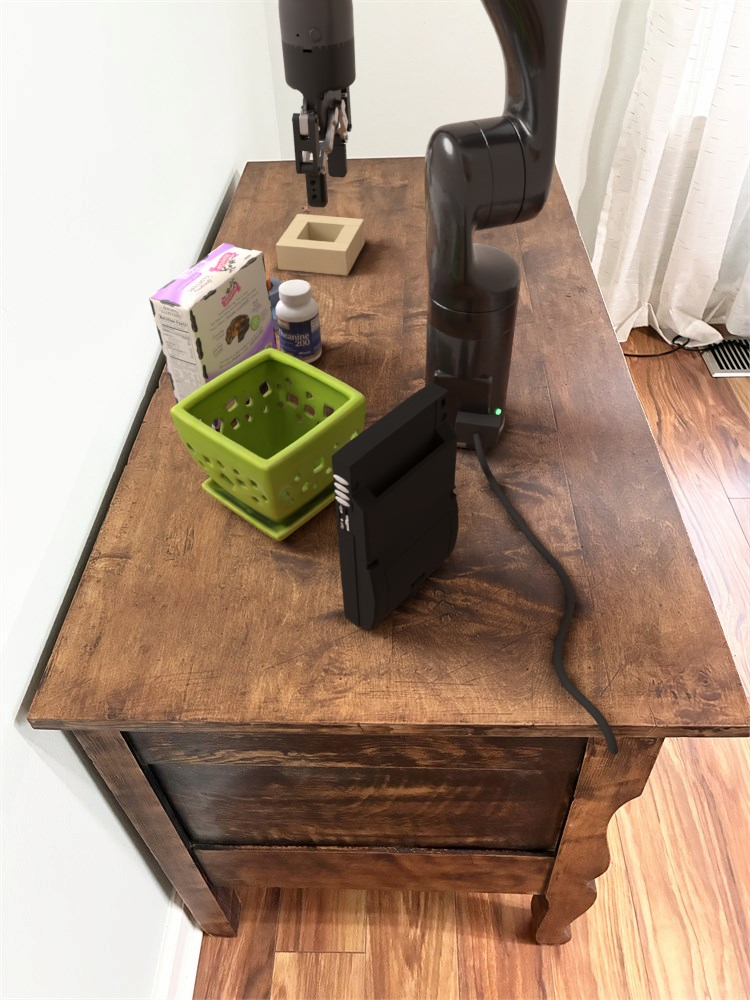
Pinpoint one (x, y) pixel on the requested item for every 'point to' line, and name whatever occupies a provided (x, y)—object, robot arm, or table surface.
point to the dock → (321, 244)
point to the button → (268, 281)
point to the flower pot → (270, 438)
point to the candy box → (214, 318)
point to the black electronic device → (395, 505)
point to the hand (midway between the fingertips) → (328, 190)
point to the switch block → (274, 298)
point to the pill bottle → (298, 321)
